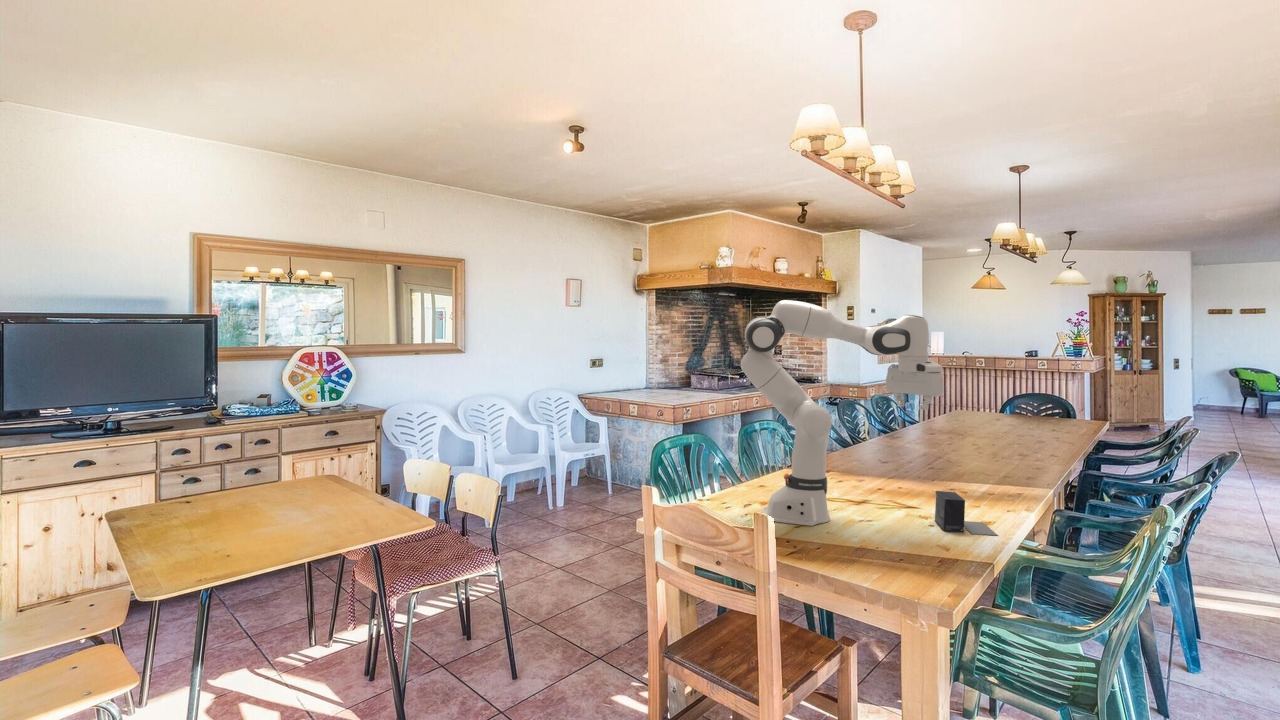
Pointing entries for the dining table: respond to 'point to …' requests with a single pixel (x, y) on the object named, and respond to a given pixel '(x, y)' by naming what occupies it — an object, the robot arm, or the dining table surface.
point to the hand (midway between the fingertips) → (912, 408)
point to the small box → (949, 511)
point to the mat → (978, 528)
